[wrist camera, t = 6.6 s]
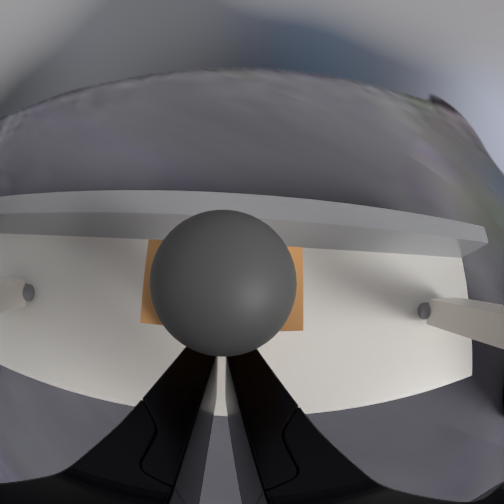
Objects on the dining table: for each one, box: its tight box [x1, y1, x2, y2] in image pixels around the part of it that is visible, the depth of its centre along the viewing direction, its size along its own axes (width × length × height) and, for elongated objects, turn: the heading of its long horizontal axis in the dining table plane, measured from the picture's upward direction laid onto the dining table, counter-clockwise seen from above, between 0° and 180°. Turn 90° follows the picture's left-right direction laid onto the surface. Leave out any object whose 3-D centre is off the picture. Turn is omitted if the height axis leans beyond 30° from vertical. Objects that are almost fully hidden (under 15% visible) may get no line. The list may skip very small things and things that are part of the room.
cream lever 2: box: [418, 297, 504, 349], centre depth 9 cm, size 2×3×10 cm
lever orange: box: [140, 210, 303, 357], centre depth 8 cm, size 2×3×10 cm
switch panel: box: [0, 190, 488, 416], centre depth 13 cm, size 10×34×6 cm, turn 88°
